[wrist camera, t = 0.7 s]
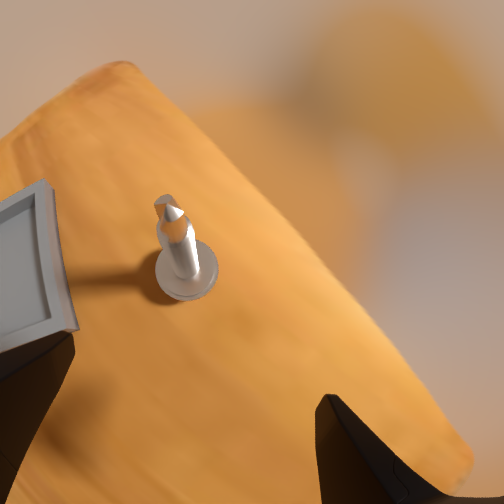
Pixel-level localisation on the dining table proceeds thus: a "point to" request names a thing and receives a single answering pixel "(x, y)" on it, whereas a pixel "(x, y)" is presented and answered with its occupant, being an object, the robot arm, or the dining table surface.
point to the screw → (182, 255)
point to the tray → (32, 269)
